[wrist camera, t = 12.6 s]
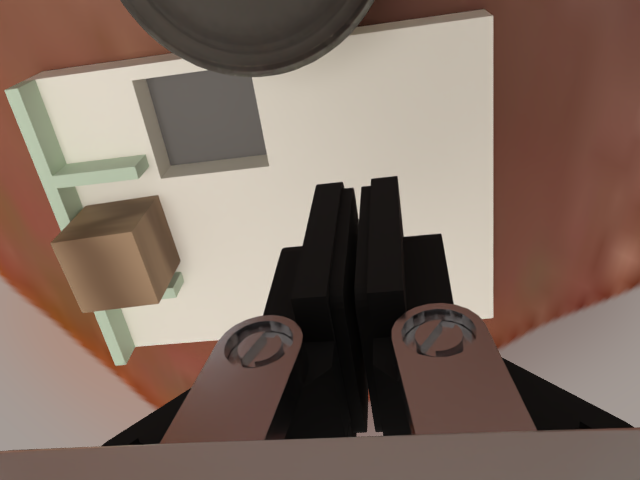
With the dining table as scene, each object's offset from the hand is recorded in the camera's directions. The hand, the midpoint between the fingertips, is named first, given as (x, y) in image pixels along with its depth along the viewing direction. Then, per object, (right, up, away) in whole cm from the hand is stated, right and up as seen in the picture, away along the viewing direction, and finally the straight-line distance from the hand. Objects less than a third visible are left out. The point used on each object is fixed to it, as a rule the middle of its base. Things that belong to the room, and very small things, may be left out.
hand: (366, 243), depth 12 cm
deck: (-4, +3, +27) cm, 28 cm away
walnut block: (-13, +1, +27) cm, 30 cm away
